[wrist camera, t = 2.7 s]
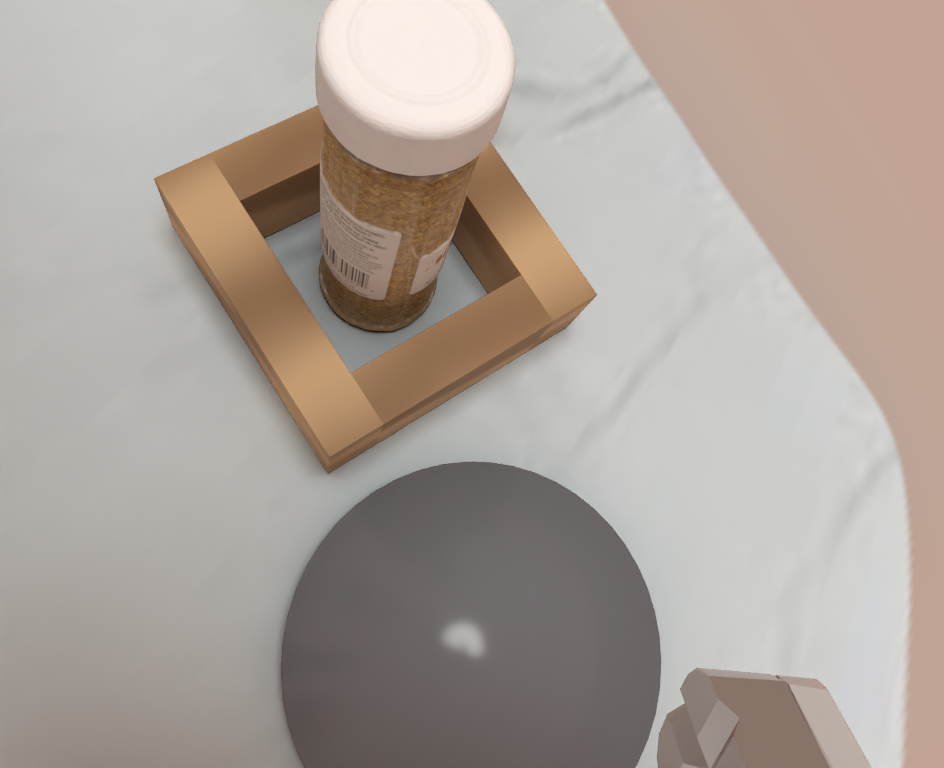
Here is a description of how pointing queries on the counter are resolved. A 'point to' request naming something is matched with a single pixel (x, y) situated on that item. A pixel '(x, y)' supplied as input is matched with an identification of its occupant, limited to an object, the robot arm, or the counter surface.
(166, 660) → the counter surface
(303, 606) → the slate coaster
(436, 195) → the sprinkles bottle
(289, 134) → the frame
